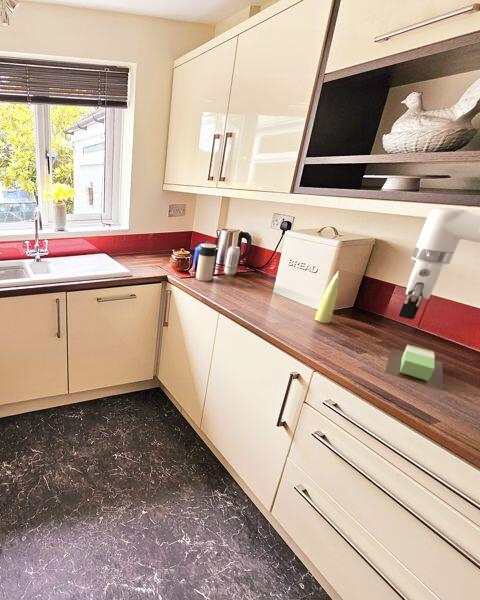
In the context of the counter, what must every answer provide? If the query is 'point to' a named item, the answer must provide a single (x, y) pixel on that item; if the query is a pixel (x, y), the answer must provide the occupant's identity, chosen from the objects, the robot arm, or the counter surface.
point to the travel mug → (206, 262)
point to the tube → (328, 301)
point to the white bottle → (232, 260)
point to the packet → (417, 362)
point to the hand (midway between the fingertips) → (408, 313)
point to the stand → (394, 369)
